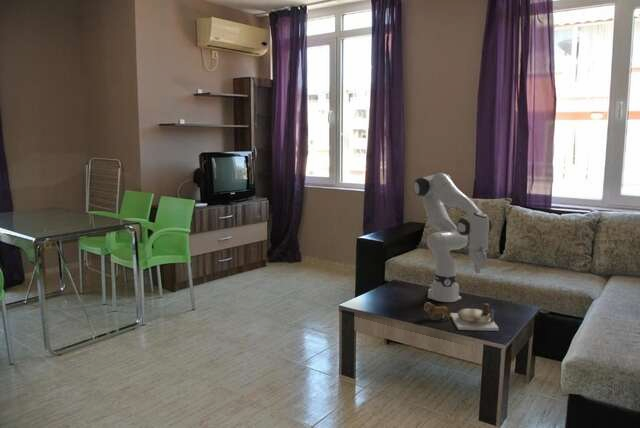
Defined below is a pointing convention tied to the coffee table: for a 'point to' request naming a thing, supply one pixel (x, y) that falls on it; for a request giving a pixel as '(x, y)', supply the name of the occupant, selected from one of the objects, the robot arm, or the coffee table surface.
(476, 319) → the beige round knobbed piece
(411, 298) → the coffee table surface
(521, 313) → the coffee table surface
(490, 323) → the post base
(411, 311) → the coffee table surface
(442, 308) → the lion figurine
